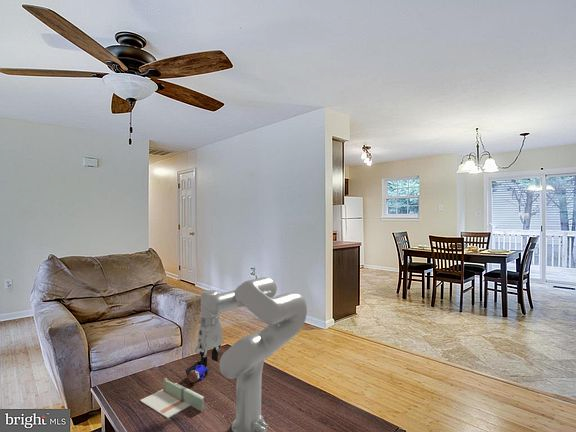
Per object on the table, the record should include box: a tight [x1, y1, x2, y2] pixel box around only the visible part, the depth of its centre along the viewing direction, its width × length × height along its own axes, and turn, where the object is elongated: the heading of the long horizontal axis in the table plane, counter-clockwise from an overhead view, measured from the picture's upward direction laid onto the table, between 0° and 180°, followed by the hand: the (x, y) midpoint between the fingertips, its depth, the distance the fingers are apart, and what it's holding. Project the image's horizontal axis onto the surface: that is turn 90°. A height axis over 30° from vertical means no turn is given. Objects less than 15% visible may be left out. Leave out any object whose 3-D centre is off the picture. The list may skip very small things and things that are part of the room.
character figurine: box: [185, 360, 212, 385], centre depth 159 cm, size 8×7×15 cm
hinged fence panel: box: [182, 388, 205, 411], centre depth 137 cm, size 13×2×4 cm, turn 54°
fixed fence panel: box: [162, 377, 183, 400], centre depth 145 cm, size 13×2×5 cm, turn 54°
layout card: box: [139, 382, 205, 419], centre depth 142 cm, size 20×18×1 cm
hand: (209, 362), depth 139 cm, fingers open, 5 cm apart
